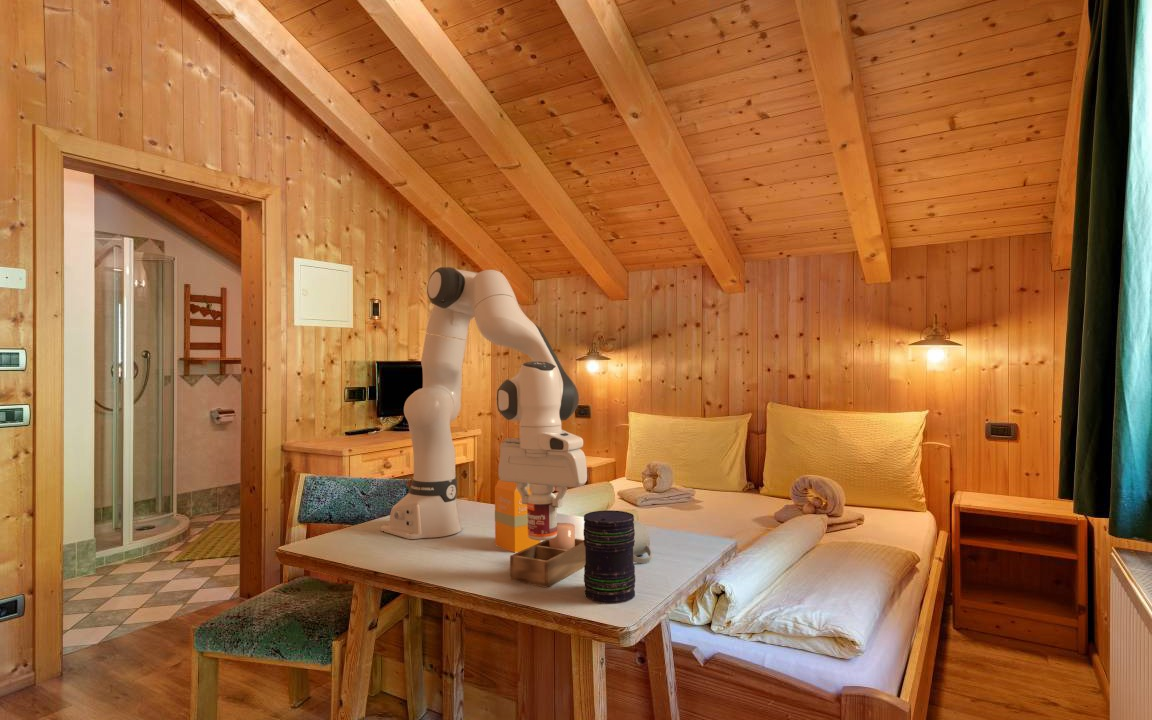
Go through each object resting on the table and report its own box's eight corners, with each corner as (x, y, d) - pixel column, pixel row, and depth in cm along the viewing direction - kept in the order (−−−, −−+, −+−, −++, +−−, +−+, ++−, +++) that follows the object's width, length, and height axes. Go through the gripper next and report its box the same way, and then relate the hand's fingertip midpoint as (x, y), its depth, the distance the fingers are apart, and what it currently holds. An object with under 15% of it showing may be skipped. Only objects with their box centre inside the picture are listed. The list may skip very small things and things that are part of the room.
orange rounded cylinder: (544, 564, 136) (544, 527, 136) (558, 557, 140) (557, 521, 141) (566, 567, 133) (566, 530, 133) (579, 560, 138) (579, 524, 138)
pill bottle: (522, 539, 128) (521, 484, 128) (536, 531, 134) (535, 479, 134) (549, 542, 126) (548, 486, 126) (562, 534, 131) (561, 480, 131)
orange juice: (514, 553, 147) (513, 468, 147) (494, 545, 154) (493, 464, 154) (541, 546, 152) (540, 464, 152) (520, 539, 159) (520, 461, 159)
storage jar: (595, 583, 125) (594, 508, 126) (641, 589, 122) (640, 512, 122) (576, 599, 116) (575, 519, 116) (626, 607, 112) (625, 524, 113)
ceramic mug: (602, 556, 143) (602, 523, 143) (628, 549, 149) (628, 517, 149) (634, 568, 135) (634, 532, 135) (660, 560, 140) (660, 526, 140)
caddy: (510, 580, 128) (510, 555, 128) (555, 557, 143) (555, 535, 143) (548, 587, 123) (547, 562, 123) (590, 563, 138) (590, 540, 138)
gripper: (491, 438, 132) (492, 504, 132) (574, 442, 122) (576, 513, 122) (509, 435, 138) (510, 498, 138) (590, 439, 128) (591, 506, 127)
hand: (541, 505), depth 130 cm, fingers closed on pill bottle, 6 cm apart
